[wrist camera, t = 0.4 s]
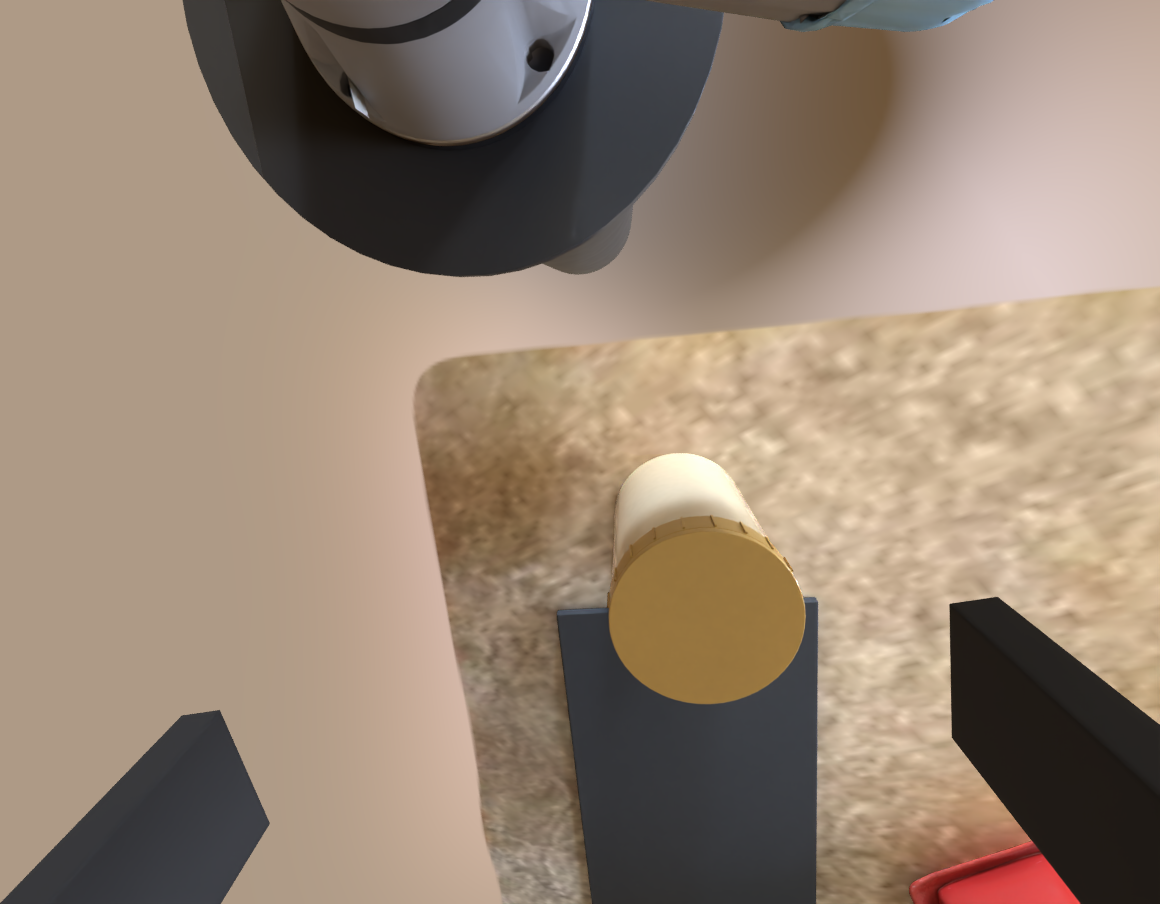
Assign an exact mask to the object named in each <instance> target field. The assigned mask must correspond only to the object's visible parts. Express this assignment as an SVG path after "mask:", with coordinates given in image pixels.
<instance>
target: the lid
mask: <svg viewBox="0 0 1160 904" xmlns="http://www.w3.org/2000/svg"><path fill="white" fill-rule="evenodd" d="M792 572H793V569H792V568H791V566H790V565H789V563H788V561H787V560H786V558H785V557H784V558H783V557H782V556H781V554H780V553H779V552H778V550H777V549H776V548H775V547H774V545H773V544H771V542H770V540H769V539H768V537H767V536H765V537H764V536H762V535H761V534H760V533H758V532H757V531H755V530H753V529H752V528H750V527H748V526H746V525H744V524H743V522H741V521H740V522H736V521H733V520H729V519H725V518H721V517H714V516H713V515H710V516H693V517H685V518H683V517H680V519H677V520H673V521H670V522H667V523H665V524H662V525H660V526H658V527H656V528H654V527H652V530H650V531H649V532H647V533H646V534H645V535H643V536H642V537H640V538H639V539H638V540H637V541H636V542H635V543H634V544H633V545H631V544H630V545H629V549H628V550H627V552H626V553H625V554H624V555H623V557H622V559H621V560H620V562H619V564H618V566H617V567H615V568H614V575H613V579H612V582H611V588H610V592H608V599H607V608H609V629H610V635H611V639H612V642H613V645H614V648H615V650H616V652H617V654H618V656H619V658H620V659H621V661H622V662H623V664H624V665H625V667H626V668H627V669H628V670H629V671H630V672H631V674H632V675H633V676H634V677H635V678H637V679H638V680H639V681H640V682H641V683H642V684H644V685H645V686H647V687H648V688H650V689H651V690H653V691H655V692H657V693H659V694H661V695H663V696H666V697H669V698H671V699H674V700H678V701H682V702H687V703H695V704H717V703H725V702H730V701H735V700H738V699H741V698H744V697H747V696H749V695H751V694H753V693H755V692H757V691H759V690H761V689H762V688H764V687H766V686H767V685H769V684H770V683H771V682H773V681H774V680H775V679H776V678H777V677H778V676H779V675H780V674H781V673H782V672H783V671H784V670H785V669H786V668H787V667H788V665H789V664H790V663H791V661H792V660H793V658H794V656H795V655H796V653H797V651H798V649H799V646H800V644H801V641H802V638H803V633H804V629H805V618H806V615H805V604H804V600H803V595H802V592H801V590H800V587H799V584H798V582H797V580H796V579H795V577H794V575H793V574H792Z"/></svg>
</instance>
